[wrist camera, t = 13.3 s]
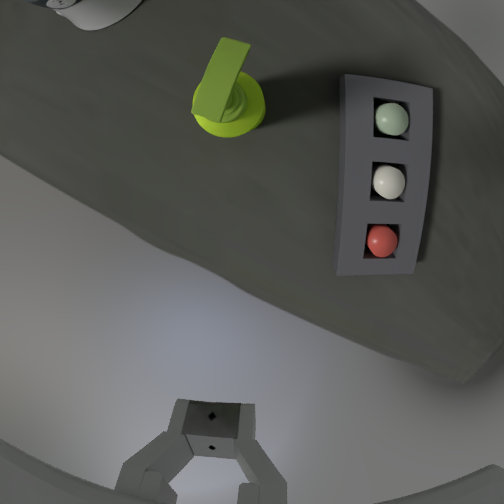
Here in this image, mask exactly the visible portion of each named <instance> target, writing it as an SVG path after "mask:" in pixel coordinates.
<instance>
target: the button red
mask: <svg viewBox="0 0 504 504" xmlns="http://www.w3.org/2000/svg"><path fill="white" fill-rule="evenodd" d="M365 243H366V244H367V246H368V247H369V249H370V250H371V251H372V253H373V254H374V255H375V256H378V257H386V256H388V255H390V254H391V253H392V252H393V251H394V250H395V248H396V246H397V236H396V234H395V233H394V232H393V231H392V230H391V229H390V228H389V227H388V226H387V225H386V224H370V225H368V226H367V232H366V240H365Z"/></svg>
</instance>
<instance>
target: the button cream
mask: <svg viewBox="0 0 504 504" xmlns="http://www.w3.org/2000/svg"><path fill="white" fill-rule="evenodd" d="M371 187H372V189H373V190H374V191H376V192H377V193H378V194H380V195H381V196H383V197H384V198H387V199H394V198H396V197H398V196H399V195H400V194H401V193H402V192H403V190H404V187H405V179H404V176H403V174H402V173H401V171H399V170H398V169H396V168H394V167H392V166H389V165H387V164H378V165H376V166H375V167H373V168H372V176H371Z"/></svg>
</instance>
